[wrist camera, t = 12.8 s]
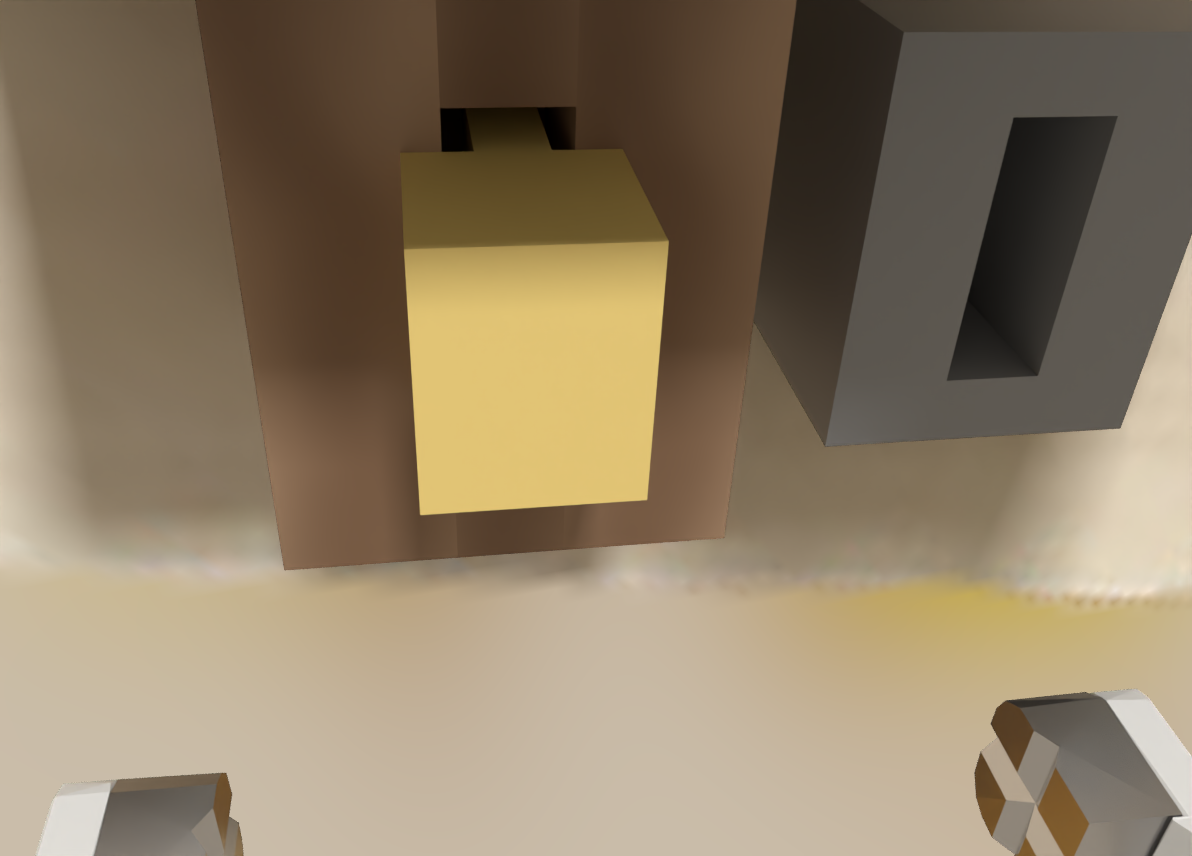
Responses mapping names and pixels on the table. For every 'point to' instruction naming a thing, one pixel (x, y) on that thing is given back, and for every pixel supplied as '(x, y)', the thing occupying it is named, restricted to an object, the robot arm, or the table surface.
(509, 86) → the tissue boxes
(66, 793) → the robot arm
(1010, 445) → the table surface
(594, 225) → the yellow tabbed block
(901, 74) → the dark gray slotted block
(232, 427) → the table surface
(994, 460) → the table surface
